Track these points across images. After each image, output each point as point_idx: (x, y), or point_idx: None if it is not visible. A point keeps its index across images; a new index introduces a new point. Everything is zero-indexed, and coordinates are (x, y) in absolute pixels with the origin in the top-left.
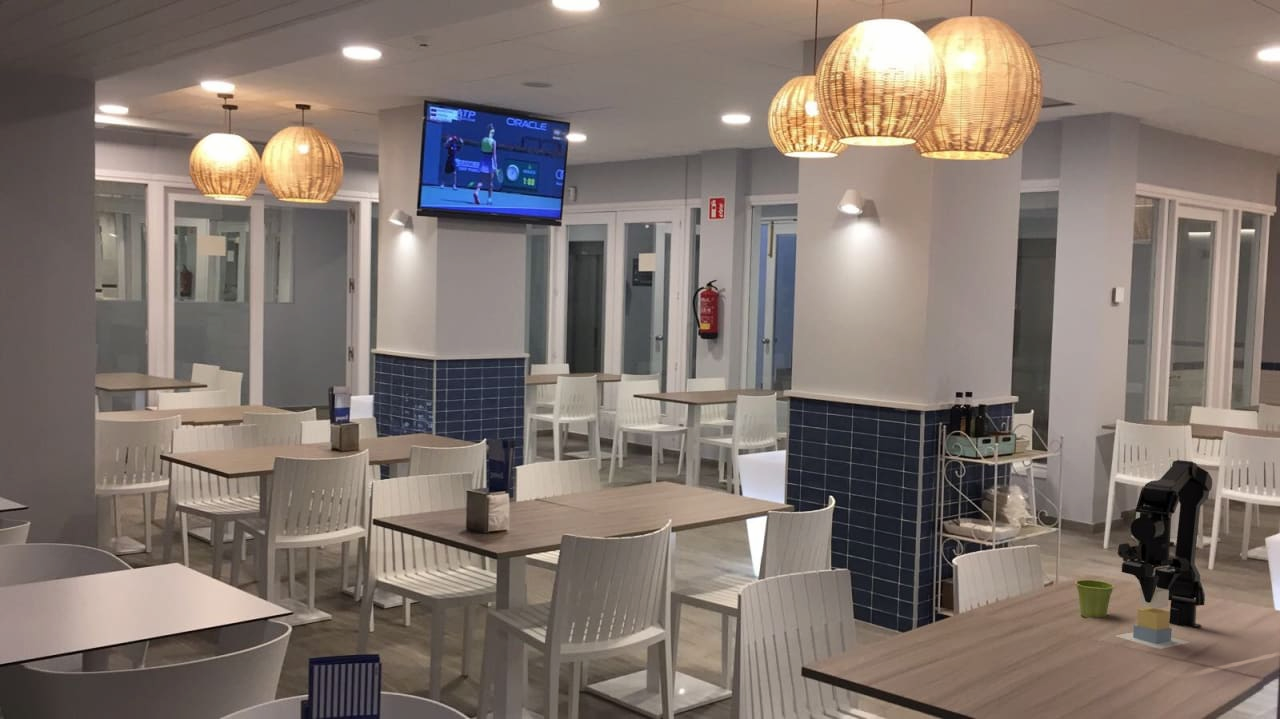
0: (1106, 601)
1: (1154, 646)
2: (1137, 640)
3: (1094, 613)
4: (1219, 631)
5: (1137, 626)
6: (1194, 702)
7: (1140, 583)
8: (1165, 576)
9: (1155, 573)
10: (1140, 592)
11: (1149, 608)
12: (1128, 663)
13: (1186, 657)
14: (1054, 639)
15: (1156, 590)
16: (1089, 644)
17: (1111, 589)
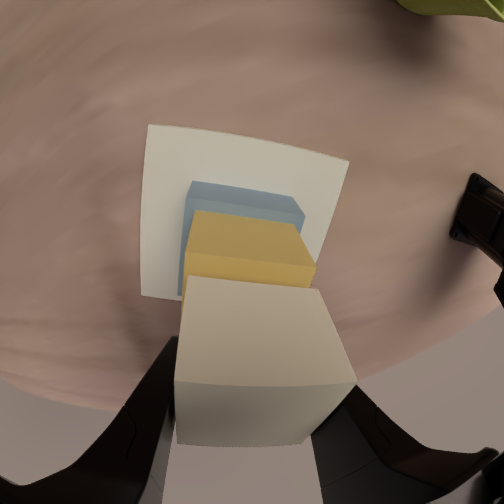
0: (447, 3)
1: (149, 276)
2: (164, 211)
3: None
4: (464, 279)
5: (184, 215)
6: (11, 378)
7: (97, 441)
8: (347, 500)
9: (399, 484)
10: (178, 345)
11: (267, 282)
12: (9, 279)
13: (169, 338)
14: (5, 49)
15: (214, 437)
16: (29, 126)
17: (497, 16)
